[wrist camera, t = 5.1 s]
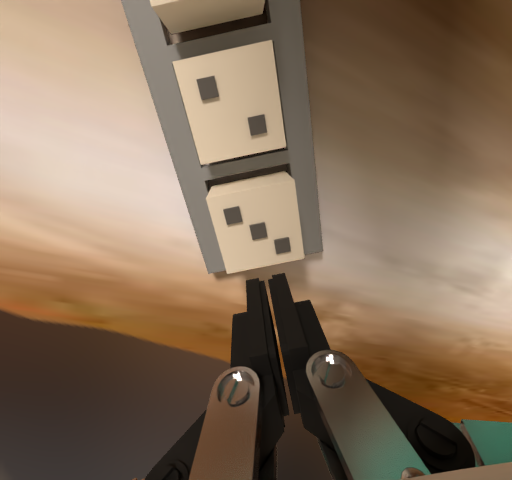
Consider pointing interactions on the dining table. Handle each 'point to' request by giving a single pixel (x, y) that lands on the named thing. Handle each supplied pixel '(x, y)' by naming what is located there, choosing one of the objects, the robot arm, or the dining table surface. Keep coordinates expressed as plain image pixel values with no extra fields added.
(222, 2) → the tile one
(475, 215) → the dining table surface
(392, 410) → the robot arm
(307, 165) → the board
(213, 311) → the dining table surface
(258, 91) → the tile two
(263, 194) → the tile three
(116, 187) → the dining table surface
